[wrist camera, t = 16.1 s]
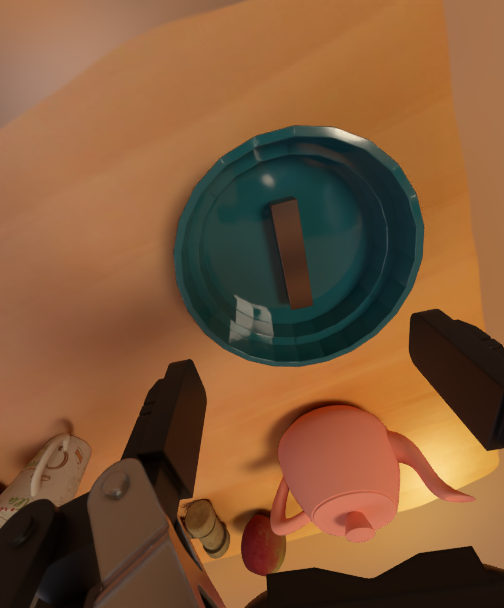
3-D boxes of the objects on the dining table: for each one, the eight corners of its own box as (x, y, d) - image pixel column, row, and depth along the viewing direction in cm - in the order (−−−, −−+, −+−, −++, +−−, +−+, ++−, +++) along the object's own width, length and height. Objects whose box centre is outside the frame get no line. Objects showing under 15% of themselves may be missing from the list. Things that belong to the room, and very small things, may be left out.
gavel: (121, 565, 50) (92, 540, 45) (132, 534, 54) (106, 509, 50) (228, 558, 46) (208, 530, 42) (231, 526, 50) (213, 497, 46)
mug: (40, 460, 41) (-18, 542, 32) (38, 402, 35) (-32, 482, 26) (97, 469, 42) (57, 551, 33) (104, 415, 37) (59, 496, 28)
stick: (268, 201, 24) (270, 205, 22) (292, 195, 24) (297, 198, 22) (287, 299, 28) (291, 310, 26) (308, 295, 28) (313, 305, 26)
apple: (231, 515, 49) (229, 575, 42) (267, 499, 47) (271, 559, 40) (257, 531, 52) (259, 590, 45) (292, 517, 50) (300, 576, 42)
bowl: (157, 168, 23) (131, 170, 18) (386, 106, 21) (432, 86, 16) (221, 346, 32) (216, 383, 26) (387, 312, 30) (417, 344, 25)
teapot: (394, 366, 34) (466, 463, 23) (423, 435, 40) (490, 538, 29) (242, 427, 38) (240, 533, 27) (288, 481, 44) (302, 584, 33)
